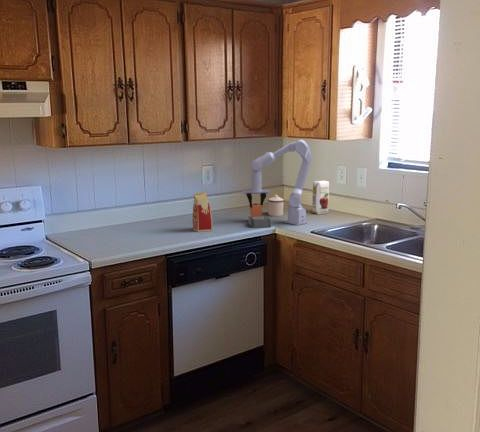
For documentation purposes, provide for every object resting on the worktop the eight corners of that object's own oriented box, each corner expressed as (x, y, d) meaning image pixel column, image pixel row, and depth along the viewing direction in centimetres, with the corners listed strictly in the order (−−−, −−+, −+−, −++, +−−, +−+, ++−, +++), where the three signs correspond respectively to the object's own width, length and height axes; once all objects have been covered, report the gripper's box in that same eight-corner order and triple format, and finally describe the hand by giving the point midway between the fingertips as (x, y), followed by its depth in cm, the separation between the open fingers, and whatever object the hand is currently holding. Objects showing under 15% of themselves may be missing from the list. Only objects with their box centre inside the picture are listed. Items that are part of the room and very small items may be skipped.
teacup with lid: (286, 215, 304) (287, 195, 302) (273, 217, 300) (273, 196, 298) (275, 211, 315) (275, 192, 312) (262, 213, 310) (262, 193, 308)
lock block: (261, 216, 283) (261, 204, 282) (252, 216, 283) (252, 205, 282) (259, 214, 291) (259, 203, 290) (250, 214, 291) (250, 203, 290)
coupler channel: (270, 227, 274) (270, 219, 273) (251, 227, 272) (251, 220, 272) (266, 223, 283) (266, 215, 282) (248, 223, 282) (248, 216, 281)
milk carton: (207, 227, 274) (207, 188, 270) (213, 230, 265) (213, 191, 261) (190, 228, 271) (189, 189, 267) (195, 232, 262) (195, 192, 258)
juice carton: (310, 212, 312) (311, 180, 308) (322, 211, 316) (323, 180, 312) (317, 215, 306) (318, 182, 302) (329, 213, 309) (331, 181, 305)
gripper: (268, 181, 288) (267, 205, 291) (241, 181, 286) (241, 206, 289) (270, 182, 281) (270, 208, 284) (243, 183, 279) (243, 208, 282)
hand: (256, 207), depth 286 cm, fingers closed on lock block, 5 cm apart
